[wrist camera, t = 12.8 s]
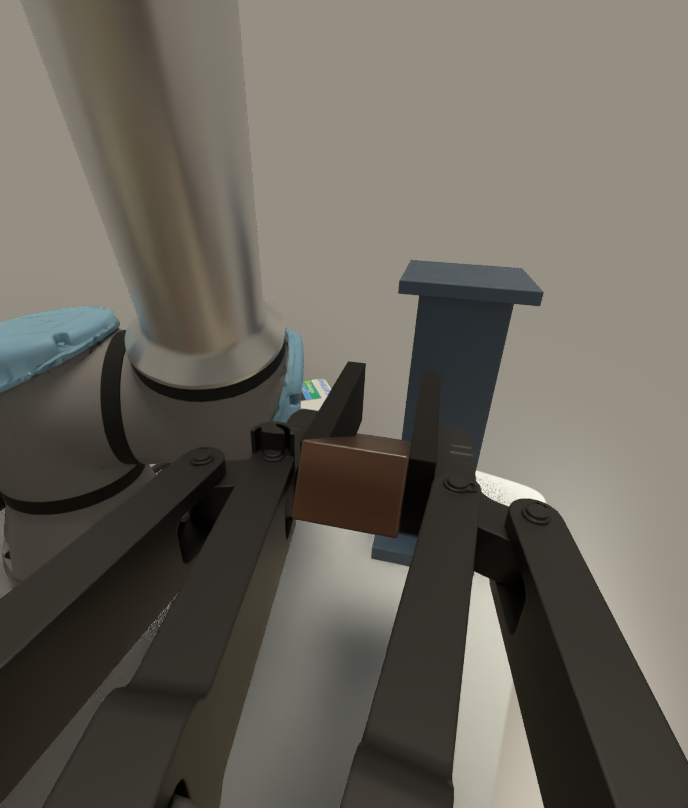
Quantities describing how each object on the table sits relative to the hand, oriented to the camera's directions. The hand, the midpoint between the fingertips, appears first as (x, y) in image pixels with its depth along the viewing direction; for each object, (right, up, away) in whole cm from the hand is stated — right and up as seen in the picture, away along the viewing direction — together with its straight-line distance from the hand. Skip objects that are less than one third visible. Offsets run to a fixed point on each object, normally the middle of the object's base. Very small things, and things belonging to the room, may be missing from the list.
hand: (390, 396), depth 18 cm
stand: (+7, -14, +29) cm, 33 cm away
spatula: (0, -4, +1) cm, 4 cm away
